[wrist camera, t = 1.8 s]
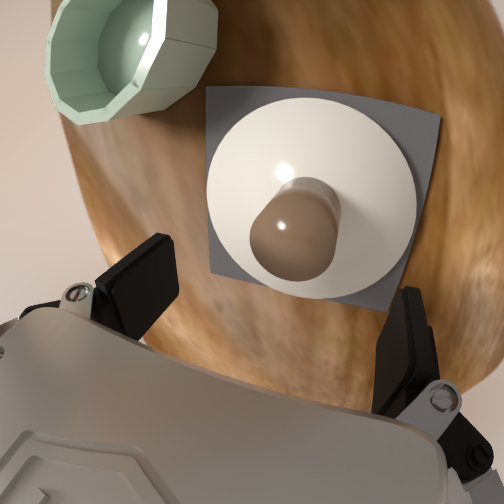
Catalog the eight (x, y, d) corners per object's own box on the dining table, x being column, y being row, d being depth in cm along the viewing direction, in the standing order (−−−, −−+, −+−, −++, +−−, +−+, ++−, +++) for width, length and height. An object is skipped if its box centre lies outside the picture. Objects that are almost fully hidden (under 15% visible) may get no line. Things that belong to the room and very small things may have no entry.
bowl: (102, 1, 14) (51, -3, 9) (221, -37, 11) (175, -67, 6) (99, 116, 19) (47, 131, 15) (215, 108, 16) (164, 116, 12)
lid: (213, 93, 16) (161, 96, 11) (431, 121, 12) (465, 132, 8) (216, 268, 22) (181, 312, 18) (383, 305, 19) (383, 363, 15)
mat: (208, 86, 16) (205, 86, 15) (438, 115, 12) (440, 115, 12) (212, 269, 23) (210, 272, 23) (387, 308, 19) (387, 312, 19)
